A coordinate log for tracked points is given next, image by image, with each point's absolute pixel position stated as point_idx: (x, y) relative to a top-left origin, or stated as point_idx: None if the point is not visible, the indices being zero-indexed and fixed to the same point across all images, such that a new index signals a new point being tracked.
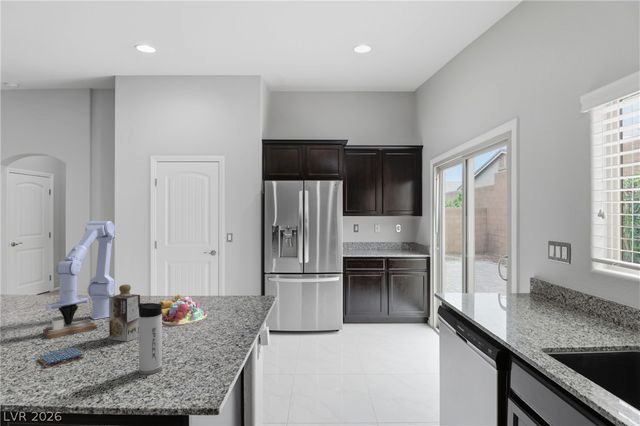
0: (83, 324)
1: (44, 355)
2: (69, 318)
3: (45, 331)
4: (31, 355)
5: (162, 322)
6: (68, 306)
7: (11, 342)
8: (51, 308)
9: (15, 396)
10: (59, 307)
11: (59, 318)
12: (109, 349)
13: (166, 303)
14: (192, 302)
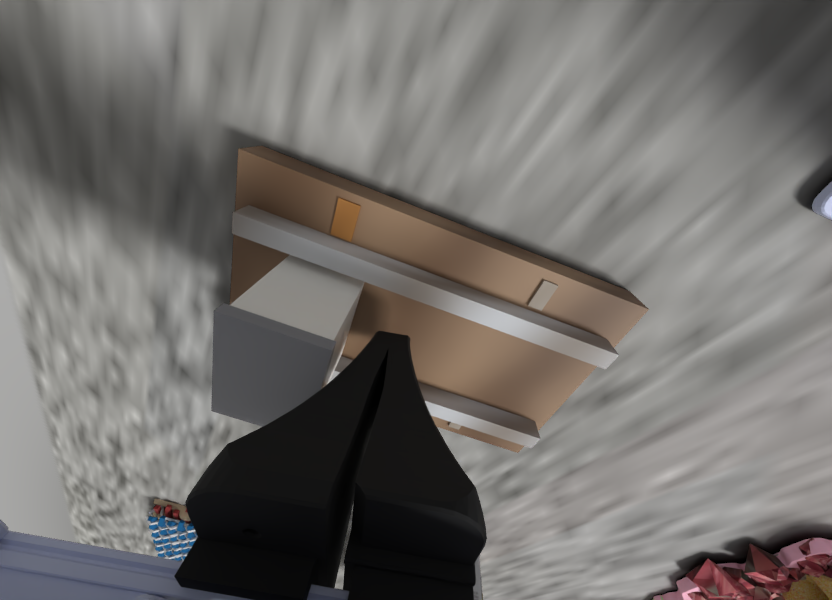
0: (460, 424)
1: (160, 526)
2: (369, 430)
3: (235, 254)
4: (137, 456)
5: (679, 591)
6: (346, 569)
7: (17, 162)
8: (18, 571)
9: None
10: (166, 582)
11: (271, 412)
12: (342, 581)
13: None
14: None
